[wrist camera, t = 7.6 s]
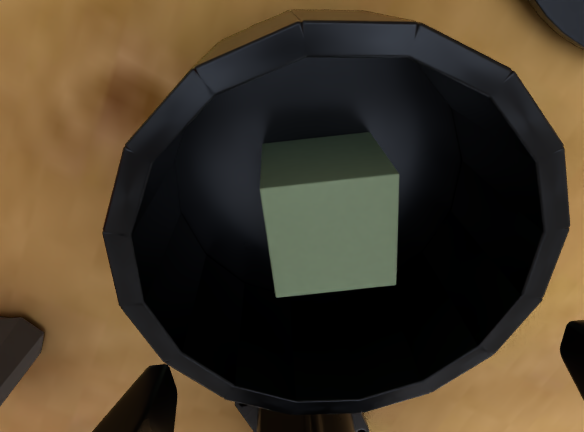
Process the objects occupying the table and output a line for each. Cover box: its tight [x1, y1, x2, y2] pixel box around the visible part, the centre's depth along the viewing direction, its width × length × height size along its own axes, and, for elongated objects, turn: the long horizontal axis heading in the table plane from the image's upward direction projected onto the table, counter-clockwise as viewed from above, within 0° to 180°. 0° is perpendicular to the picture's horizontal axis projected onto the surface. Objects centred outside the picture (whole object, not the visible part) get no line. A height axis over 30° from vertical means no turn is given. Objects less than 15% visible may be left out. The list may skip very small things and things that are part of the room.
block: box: [260, 132, 399, 298], centre depth 16 cm, size 4×4×4 cm
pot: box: [102, 10, 570, 415], centre depth 15 cm, size 14×14×6 cm
